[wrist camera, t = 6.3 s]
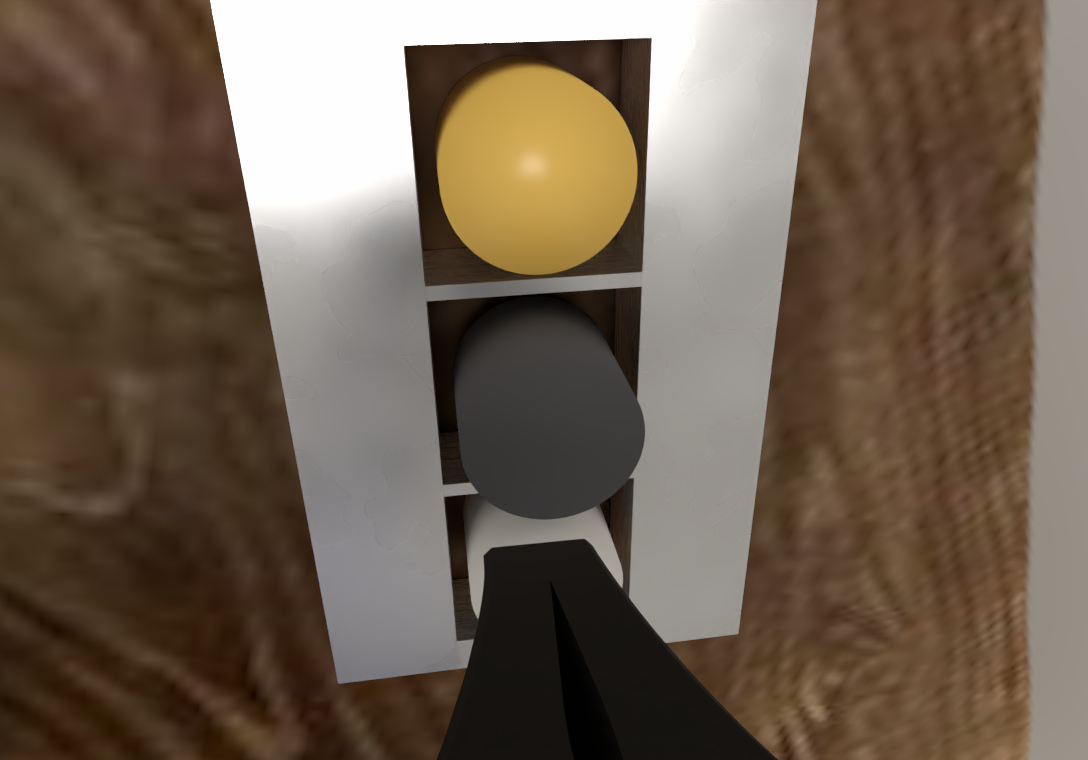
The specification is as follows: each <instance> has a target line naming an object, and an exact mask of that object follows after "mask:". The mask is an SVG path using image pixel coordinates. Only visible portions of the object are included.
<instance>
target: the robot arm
mask: <svg viewBox="0 0 1088 760" xmlns="http://www.w3.org/2000/svg"><path fill="white" fill-rule="evenodd" d="M483 558H484V586H483V595H482V602H481V608H480V613H479V619H478V624H477V629H476V633H475V637H474V641H473V645H472V649H471V653H470V657H469V661H468V666H467V670H466V673H465V677H464V680H463V684H462V687H461V690H460V693H459V696H458V699H457V702H456V705H455V708H454V712H453V715H452V718H451V721H450V724H449V727H448V730H447V733H446V736H445V739H444V742H443V744H442V747H441V750H440V753H439V755H438V758H437V760H778V759H777V758H775V757H774V756H773V755H772V754H771V753H770V752H769V751H768V750H767V749H766V748H765V747H763V746H762V745H761V744H760V743H759V742H758V741H757V740H756V739H755V738H754V737H753V736H752V735H751V734H750V733H749V732H748V731H747V730H746V729H745V728H744V727H743V726H742V725H741V724H740V723H739V722H738V721H737V720H736V719H735V718H734V717H733V716H732V715H731V714H730V713H729V712H728V711H727V710H726V709H725V708H724V707H723V706H722V705H721V704H720V703H719V702H718V701H717V700H716V699H715V698H714V697H713V696H712V695H711V694H710V692H709V691H708V690H707V689H706V688H705V687H704V686H703V685H702V684H701V683H700V682H699V681H698V680H697V679H696V678H695V676H694V675H693V674H692V673H691V672H690V671H689V670H688V669H687V667H686V666H685V665H684V664H683V663H682V662H681V661H680V660H679V658H678V657H677V656H676V655H675V654H674V653H673V651H672V650H671V649H670V648H669V647H668V645H667V644H666V643H665V642H664V641H663V639H662V638H661V637H660V636H659V635H658V634H657V632H656V631H655V630H654V629H653V628H652V626H651V625H650V624H649V623H648V621H647V620H646V619H645V618H644V616H643V615H642V614H641V613H640V611H639V610H638V609H637V608H636V606H635V605H634V604H633V602H632V601H631V600H630V598H629V597H628V596H627V594H626V593H625V592H624V590H623V589H622V588H621V586H620V585H619V584H618V582H617V581H616V579H615V578H614V577H613V575H612V574H611V572H610V571H609V570H608V568H607V567H606V565H605V564H604V562H603V561H602V559H601V558H600V556H599V555H598V553H597V552H596V550H595V548H594V547H593V545H592V544H590V543H589V542H588V541H587V540H586V539H574V540H564V541H554V542H544V543H533V544H523V545H513V546H503V547H492V548H491V549H490V550H489V551H488V552H487V553H486V554H484V555H483Z"/></svg>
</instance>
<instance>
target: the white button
mask: <svg viewBox="0 0 1088 760" xmlns="http://www.w3.org/2000/svg"><path fill="white" fill-rule="evenodd" d="M463 520H464V531H465V542H466V552H467V563H468V574H469V584H470V595H471V602H472V607H473V610H474V612H475V614H476V616H477V618H478V619H479V613H480V608H481V602H482V595H483V586H484V558H483V555H484V554H486V553H487V552H488V551H489V550H490V549H491V548H492V547H503V546H513V545H523V544H533V543H544V542H554V541H564V540H574V539H586V540H587V541H588V542H589V543H590V544H592V545H593V547H594V548H595V550H596V552H597V553H598V555H599V556H600V558H601V559H602V561H603V562H604V564H605V565H606V567H607V568H608V570H609V571H610V572H611V574H612V575H613V577H614V578H615V579H616V581H617V582H618V584H619V585H620V586H621V588H622V585H623V572H622V567H621V563H620V561H619V558H618V555H617V552H616V549H615V546H614V544H613V541H612V538H611V535H610V532H609V529H608V527H607V524H606V521H605V518H604V515H603V512H602V510H601V507H600V504H599V505H597V506H596V507H594V508H592V509H590V510H587V511H585V512H582V513H580V514H577V515H573V516H569V517H565V518H558V519H546V520H542V519H530V518H524V517H519V516H516V515H513V514H510V513H507V512H505V511H503V510H500V509H499V508H497V507H495V506H494V505H492V504H491V503H489V502H488V501H487V500H486V499H484V498H483V497H482V496H481V495H480V494H479V493H477V494H466V497H465V500H464V505H463Z"/></svg>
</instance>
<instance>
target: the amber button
mask: <svg viewBox="0 0 1088 760" xmlns="http://www.w3.org/2000/svg"><path fill="white" fill-rule="evenodd" d="M434 142H435V157H436V165H437V172H438V180H439V188H440V195H441V200H442V203H443V207H444V211H445V213H446V215H447V218H448V220H449V222H450V224H451V226H452V227H453V229H454V231H455V232H456V234H457V235H458V236H459V238H460V239H461V240H462V241H463V243H464V244H465V245H466V246H467V247H468V248H469V249H470V250H471V251H472V252H473V253H475V254H476V255H478V256H479V257H480V258H482V259H483V260H485V261H486V262H488V263H490V264H492V265H494V266H496V267H498V268H501V269H504V270H506V271H510V272H514V273H519V274H527V275H543V274H551V273H556V272H560V271H564V270H567V269H570V268H572V267H575V266H577V265H579V264H581V263H583V262H585V261H587V260H588V259H590V258H591V257H593V256H594V255H595V254H597V253H598V252H599V251H601V250H602V249H603V248H604V247H605V246H606V245H607V244H608V243H609V242H610V241H611V240H612V238H613V237H614V236H615V235H616V234H617V232H618V231H619V229H620V228H621V226H622V225H623V223H624V221H625V219H626V217H627V215H628V213H629V211H630V208H631V205H632V203H633V200H634V195H635V191H636V185H637V175H638V173H637V157H636V151H635V146H634V143H633V140H632V136H631V134H630V132H629V129H628V127H627V125H626V123H625V121H624V120H623V118H622V117H621V115H620V113H619V112H618V111H617V110H616V108H615V107H614V106H613V105H612V103H611V102H610V101H608V100H607V99H606V98H605V97H604V96H603V95H602V94H601V93H599V92H598V91H596V90H595V89H594V88H592V87H591V86H589V85H588V84H586V83H584V82H583V81H581V80H580V79H578V78H577V77H575V76H574V75H572V74H570V73H569V72H567V71H566V70H564V69H563V68H561V67H559V66H557V65H555V64H553V63H551V62H549V61H546V60H543V59H540V58H536V57H530V56H507V57H502V58H498V59H494V60H491V61H489V62H486V63H484V64H482V65H480V66H478V67H477V68H475V69H473V70H472V71H470V72H469V73H468V74H467V75H465V76H464V77H463V78H462V79H461V80H460V81H459V82H458V83H457V84H456V85H455V86H454V88H453V89H452V91H451V92H450V93H449V95H448V96H447V98H446V100H445V102H444V104H443V106H442V108H441V111H440V113H439V116H438V120H437V124H436V129H435V138H434Z"/></svg>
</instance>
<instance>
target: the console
mask: <svg viewBox="0 0 1088 760" xmlns="http://www.w3.org/2000/svg"><path fill="white" fill-rule="evenodd" d="M210 1H211V6H212V12H213V17H214V22H215V28H216V33H217V38H218V44H219V49H220V54H221V60H222V65H223V70H224V76H225V81H226V87H227V92H228V97H229V103H230V108H231V113H232V119H233V124H234V129H235V135H236V140H237V145H238V151H239V156H240V161H241V167H242V172H243V178H244V183H245V188H246V194H247V199H248V204H249V210H250V215H251V220H252V226H253V231H254V236H255V242H256V247H257V252H258V258H259V263H260V268H261V274H262V279H263V285H264V290H265V295H266V301H267V306H268V311H269V317H270V322H271V327H272V333H273V338H274V343H275V349H276V354H277V359H278V365H279V370H280V375H281V381H282V386H283V392H284V397H285V402H286V408H287V413H288V418H289V424H290V429H291V434H292V440H293V445H294V450H295V456H296V461H297V466H298V472H299V477H300V483H301V488H302V493H303V499H304V504H305V509H306V515H307V520H308V525H309V531H310V536H311V541H312V547H313V552H314V557H315V563H316V568H317V573H318V579H319V584H320V590H321V595H322V600H323V606H324V611H325V616H326V622H327V627H328V632H329V638H330V643H331V648H332V654H333V659H334V664H335V670H336V675H337V680H338V684H341V683H349V682H357V681H365V680H373V679H381V678H389V677H397V676H405V675H413V674H421V673H429V672H437V671H445V670H453V669H461V668H467V666H468V661H469V657H470V653H471V649H472V645H473V641H474V637H475V633H476V629H477V624H478V618H477V616H476V614H475V612H474V610H473V607H472V602H471V595H470V584H469V578H465V579H456V580H453V578H452V567H451V555H450V544H449V533H448V522H447V510H446V499H445V497H446V496H456V495H466V494H477V493H478V492H477V491H476V490H475V488H474V487H473V485H472V484H471V482H470V481H469V479H468V477H467V475H466V473H465V470H464V467H463V464H462V459H461V453H460V443H459V433H458V431H456V432H445V433H440V432H439V421H438V409H437V398H436V387H435V376H434V364H433V353H432V342H431V331H430V319H429V308H428V301H440V300H454V299H469V298H483V297H498V296H512V295H527V294H541V293H556V292H570V291H585V290H599V289H614V288H616V297H615V337H614V357H615V359H616V361H617V363H618V364H619V366H620V368H621V370H622V372H623V374H624V376H625V378H626V380H627V382H628V383H629V385H630V387H631V389H632V391H633V393H634V395H635V397H636V399H637V401H638V402H639V404H640V407H641V410H642V413H643V417H644V423H645V440H644V447H643V450H642V454H641V457H640V459H639V462H638V464H637V466H636V468H635V469H634V471H633V473H632V475H631V476H630V477H629V479H628V480H627V481H626V483H625V484H624V485H623V486H622V487H621V488H620V489H619V490H618V491H617V492H616V493H615V494H613V495H612V496H611V498H610V535H611V538H612V541H613V544H614V546H615V549H616V552H617V555H618V558H619V561H620V563H621V567H622V572H623V585H622V589H623V590H624V592H625V593H626V594H627V596H628V597H629V598H630V600H631V601H632V602H633V604H634V605H635V606H636V608H637V609H638V610H639V611H640V613H641V614H642V615H643V616H644V618H645V619H646V620H647V621H648V623H649V624H650V625H651V626H652V628H653V629H654V630H655V631H656V632H657V634H658V635H659V636H660V637H661V638H662V639H663V641H664V642H665V643H669V642H677V641H685V640H693V639H701V638H710V637H718V636H726V635H734V634H738V632H739V624H740V616H741V608H742V600H743V592H744V584H745V576H746V568H747V560H748V552H749V544H750V536H751V528H752V520H753V512H754V504H755V496H756V487H757V479H758V471H759V463H760V455H761V447H762V439H763V431H764V423H765V415H766V407H767V399H768V391H769V383H770V375H771V367H772V359H773V351H774V343H775V335H776V327H777V319H778V311H779V303H780V295H781V287H782V279H783V271H784V263H785V255H786V247H787V239H788V231H789V223H790V215H791V207H792V199H793V191H794V183H795V175H796V167H797V159H798V151H799V143H800V135H801V127H802V119H803V111H804V103H805V95H806V87H807V79H808V71H809V63H810V54H811V46H812V38H813V30H814V22H815V14H816V6H817V0H210ZM597 39H622V56H621V97H620V115H621V117H622V118H623V120H624V121H625V123H626V125H627V127H628V129H629V132H630V134H631V136H632V140H633V143H634V146H635V151H636V157H637V173H638V175H637V185H636V191H635V195H634V200H633V203H632V205H631V208H630V211H629V213H628V215H627V217H626V219H625V221H624V223H623V225H622V226H621V228H620V229H619V231H618V232H617V239H612V240H611V241H610V242H609V243H608V244H607V245H606V246H605V247H604V248H603V249H602V250H601V251H599V252H598V253H597V254H595V255H594V256H593V257H591V258H590V259H588V260H587V261H585V262H583V263H581V264H579V265H577V266H575V267H572V268H570V269H567V270H564V271H560V272H556V273H551V274H543V275H527V274H519V273H514V272H510V271H506V270H504V269H501V268H498V267H496V266H494V265H492V264H490V263H488V262H486V261H485V260H483V259H482V258H480V257H479V256H478V255H476V254H475V253H473V252H472V251H471V250H470V249H469V248H459V249H442V250H426V251H423V241H422V229H421V218H420V207H419V196H418V184H417V173H416V162H415V151H414V139H413V128H412V117H411V106H410V94H409V83H408V72H407V61H406V50H405V45H432V44H465V43H498V42H531V41H564V40H597Z"/></svg>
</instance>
